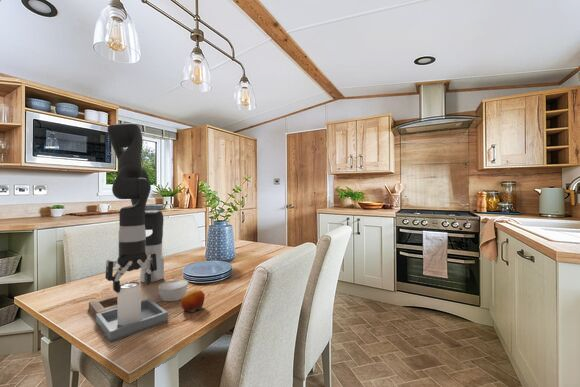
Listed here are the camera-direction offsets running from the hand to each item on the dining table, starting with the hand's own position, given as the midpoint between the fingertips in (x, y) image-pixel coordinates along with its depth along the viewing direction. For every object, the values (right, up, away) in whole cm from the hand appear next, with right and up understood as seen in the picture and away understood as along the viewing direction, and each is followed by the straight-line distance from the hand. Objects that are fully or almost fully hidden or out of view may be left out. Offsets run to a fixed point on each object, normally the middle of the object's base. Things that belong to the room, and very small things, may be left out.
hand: (132, 288), depth 84 cm
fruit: (+16, -11, +10) cm, 22 cm away
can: (0, -11, -1) cm, 11 cm away
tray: (0, -11, 0) cm, 11 cm away
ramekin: (+4, -11, +20) cm, 23 cm away
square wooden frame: (-13, -11, +10) cm, 20 cm away
